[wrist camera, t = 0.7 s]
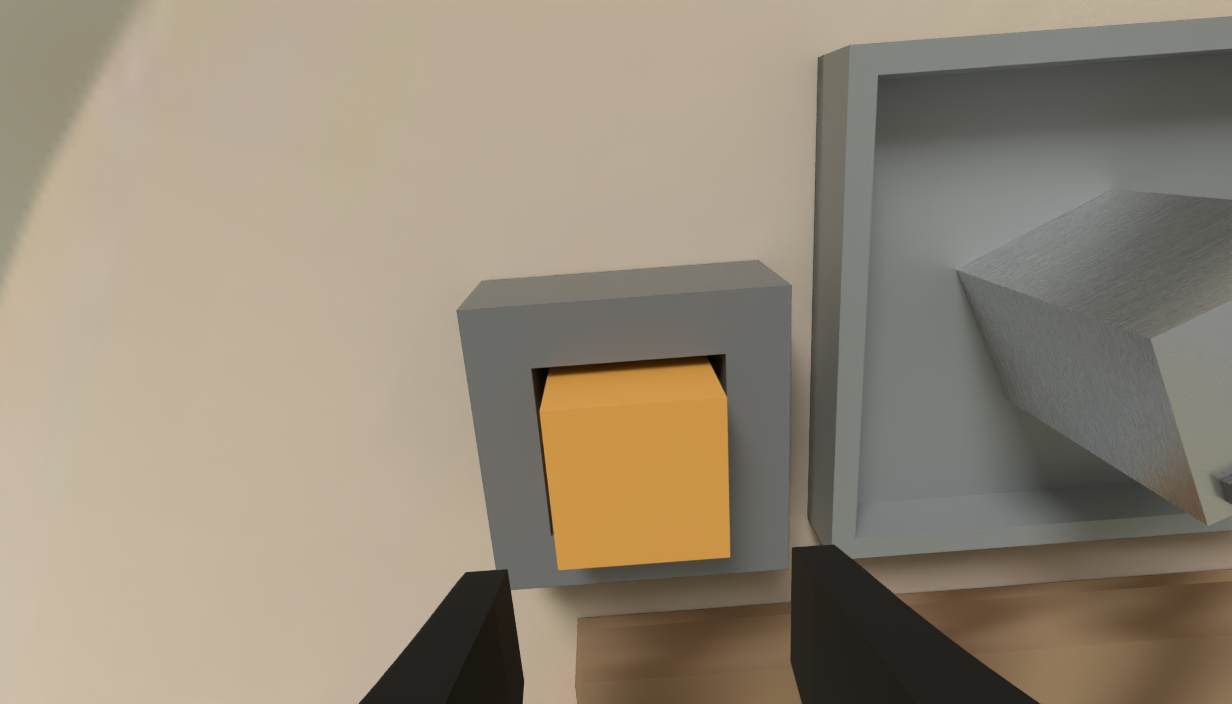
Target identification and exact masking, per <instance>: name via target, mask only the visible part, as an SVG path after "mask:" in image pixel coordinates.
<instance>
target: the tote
mask: <svg viewBox="0 0 1232 704" xmlns="http://www.w3.org/2000/svg"><path fill="white" fill-rule="evenodd" d="M1111 189H1119V190H1130V191H1141V192H1152V193H1163V194H1174V195H1185V196H1196V197H1207V198H1218V199H1229V200H1232V16H1230V17H1217V18H1204V19H1190V20H1177V21H1164V22H1150V23H1137V24H1124V25H1111V26H1097V27H1084V28H1071V29H1057V30H1044V31H1031V32H1018V33H1004V34H991V35H978V36H964V37H951V38H938V39H924V40H911V41H898V42H885V43H871V44H858V45H849V46H846V47H844V48H841V49H839V50H836V51H833V52H831V53H828V54H826V55H823V56H821V57H818V82H817V126H816V170H815V214H814V258H813V302H812V346H811V390H810V434H809V478H808V520H809V521H810V523H811V525H812V527H813V529H814V530H815V532H816V534H817V536H818V538H819V539H820V541H821V543H822V545H833V544H834V545H835V546H837V547H838V548H839V549H840V550H842V551H843V552H844V553H845V554H847V555H848V556H849V557H850V558H851V559H856V558H870V557H883V556H896V555H909V554H922V553H936V552H949V551H962V550H975V549H989V548H1002V547H1015V546H1028V545H1041V544H1055V543H1068V542H1081V541H1094V540H1108V539H1121V538H1134V537H1147V536H1160V535H1174V534H1187V533H1200V532H1213V531H1227V530H1232V516H1230V517H1227V518H1225V519H1223V520H1221V521H1218V522H1216V523H1214V524H1211V525H1209V526H1207V525H1205V524H1204V523H1202V522H1201V521H1199V520H1197V519H1196V518H1194V517H1193V516H1191V515H1190V514H1188V513H1186V512H1185V511H1183V510H1182V509H1180V508H1178V507H1177V506H1175V505H1174V504H1172V503H1171V502H1169V501H1167V500H1166V499H1164V498H1163V497H1161V496H1159V495H1158V494H1156V493H1155V492H1153V491H1152V490H1150V489H1148V488H1147V487H1145V486H1144V485H1142V484H1140V483H1139V482H1137V481H1136V480H1134V479H1133V478H1131V477H1129V476H1128V475H1126V474H1125V473H1123V472H1121V471H1120V470H1118V469H1117V468H1115V467H1114V466H1112V465H1110V464H1109V463H1107V462H1106V461H1104V460H1102V459H1101V458H1099V457H1098V456H1096V455H1094V454H1093V453H1091V452H1090V451H1088V450H1087V449H1085V448H1083V447H1082V446H1080V445H1079V444H1077V443H1075V442H1074V441H1072V440H1071V439H1069V438H1068V437H1066V436H1064V435H1063V434H1061V433H1060V432H1058V431H1056V430H1055V429H1053V428H1052V427H1050V426H1049V425H1047V424H1045V423H1044V422H1042V421H1041V420H1039V419H1037V418H1036V417H1034V416H1033V415H1031V414H1030V413H1028V412H1026V411H1025V410H1023V409H1022V408H1020V407H1018V406H1017V405H1015V404H1014V403H1012V402H1011V401H1009V400H1007V398H1006V396H1005V393H1004V391H1003V388H1002V385H1001V383H1000V380H999V378H998V375H997V373H996V370H995V368H994V365H993V363H992V360H991V357H990V355H989V352H988V350H987V347H986V345H985V342H984V340H983V337H982V335H981V332H980V329H979V327H978V324H977V322H976V319H975V317H974V314H973V312H972V309H971V307H970V304H969V302H968V299H967V296H966V294H965V291H964V289H963V286H962V284H961V281H960V279H959V276H958V274H957V271H956V269H958V268H960V267H962V266H964V265H966V264H968V263H970V262H971V261H973V260H975V259H977V258H979V257H981V256H983V255H985V254H987V253H989V252H991V251H993V250H995V249H997V248H999V247H1001V246H1002V245H1004V244H1006V243H1008V242H1010V241H1012V240H1014V239H1016V238H1018V237H1020V236H1022V235H1024V234H1026V233H1028V232H1030V231H1032V230H1034V229H1035V228H1037V227H1039V226H1041V225H1043V224H1045V223H1047V222H1049V221H1051V220H1053V219H1055V218H1057V217H1059V216H1061V215H1063V214H1065V213H1066V212H1068V211H1070V210H1072V209H1074V208H1076V207H1078V206H1080V205H1082V204H1084V203H1086V202H1088V201H1090V200H1092V199H1094V198H1096V197H1098V196H1099V195H1101V194H1103V193H1105V192H1107V191H1109V190H1111Z"/></svg>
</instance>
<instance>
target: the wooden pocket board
mask: <svg viewBox="0 0 1232 704" xmlns="http://www.w3.org/2000/svg"><path fill="white" fill-rule="evenodd" d="M896 596H897V597H898V598H900V599H901V600H902V601H903V602H904V603H906V604H907V605H908V606H909V607H911V608H912V609H913V610H914V611H916V612H917V613H918V614H919V615H921V616H922V617H923V618H924V619H926V620H927V621H928V622H929V623H931V624H932V625H933V626H935V627H936V628H937V629H938V630H940V631H941V632H942V633H943V634H945V635H946V636H947V637H949V638H950V639H951V640H953V641H954V642H955V643H957V644H958V645H959V646H961V647H962V648H963V649H965V650H966V651H967V652H969V653H970V654H971V655H973V656H974V657H975V658H977V659H978V660H979V661H981V662H982V663H983V664H985V665H986V666H988V667H989V668H990V669H992V670H993V671H995V672H996V673H997V674H999V675H1000V676H1002V677H1003V678H1005V679H1006V680H1007V681H1009V682H1010V683H1012V684H1013V685H1014V686H1016V687H1017V688H1019V689H1020V690H1022V691H1023V692H1024V693H1026V694H1027V695H1029V696H1030V697H1031V698H1033V699H1034V700H1036V701H1037V702H1039V703H1040V704H1232V569H1226V570H1213V571H1200V572H1187V573H1173V574H1160V575H1147V576H1134V577H1120V578H1107V579H1094V580H1081V581H1068V582H1054V583H1041V584H1028V585H1015V586H1002V587H988V588H975V589H962V590H949V591H935V592H922V593H909V594H896ZM790 651H791V602H790V603H777V604H764V605H750V606H737V607H724V608H711V609H698V610H684V611H671V612H658V613H645V614H631V615H618V616H605V617H592V618H579V619H578V631H577V653H576V675H575V688H576V697H577V704H802V702H801V699H800V695H799V691H798V688H797V684H796V680H795V677H794V673H793V669H792V666H791V662H790Z"/></svg>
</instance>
